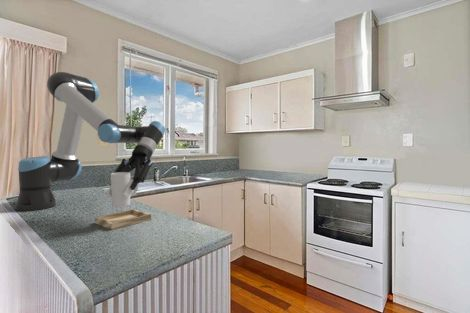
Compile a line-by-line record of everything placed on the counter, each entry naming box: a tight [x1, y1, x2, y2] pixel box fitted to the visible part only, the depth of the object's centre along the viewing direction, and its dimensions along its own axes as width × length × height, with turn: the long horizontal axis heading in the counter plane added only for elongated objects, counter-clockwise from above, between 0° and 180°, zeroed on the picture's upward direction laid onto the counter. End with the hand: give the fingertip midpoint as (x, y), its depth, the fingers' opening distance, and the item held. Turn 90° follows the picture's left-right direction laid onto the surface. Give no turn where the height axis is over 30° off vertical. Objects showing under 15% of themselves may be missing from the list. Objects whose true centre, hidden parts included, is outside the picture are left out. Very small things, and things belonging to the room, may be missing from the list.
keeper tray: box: [94, 209, 152, 231], centre depth 99 cm, size 13×16×2 cm
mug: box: [110, 172, 140, 208], centre depth 98 cm, size 10×7×12 cm, turn 131°
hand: (117, 195), depth 95 cm, fingers closed on mug, 7 cm apart
